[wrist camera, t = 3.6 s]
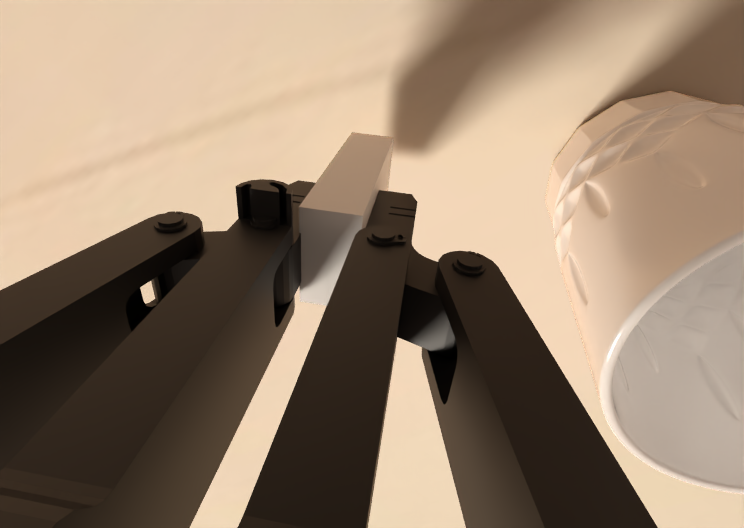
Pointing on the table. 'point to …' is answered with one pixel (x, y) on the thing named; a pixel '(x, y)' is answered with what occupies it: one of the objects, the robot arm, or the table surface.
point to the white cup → (660, 277)
